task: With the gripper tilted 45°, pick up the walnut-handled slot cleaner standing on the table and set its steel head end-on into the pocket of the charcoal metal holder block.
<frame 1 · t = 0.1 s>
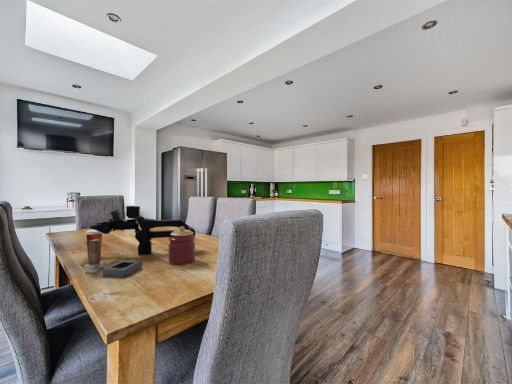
hand: (93, 225, 126), 17 cm above the table, tool horizontal, fingers open, 9 cm apart
holder block: (123, 271, 104), on the table
paper cup: (94, 257, 127), on the table
slot cleaner tool: (94, 270, 106), on the table
canister: (181, 261, 120), on the table
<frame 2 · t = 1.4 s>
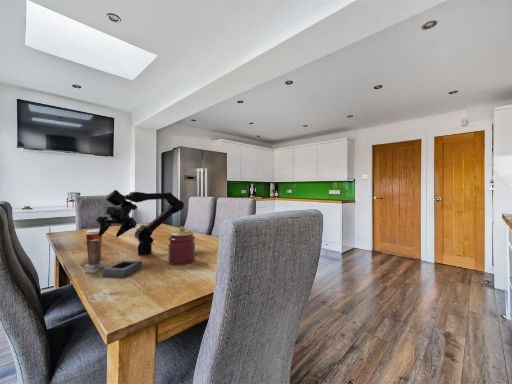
hand: (107, 236, 114), 14 cm above the table, tool tilted 45°, fingers open, 9 cm apart
nothing on the table moved.
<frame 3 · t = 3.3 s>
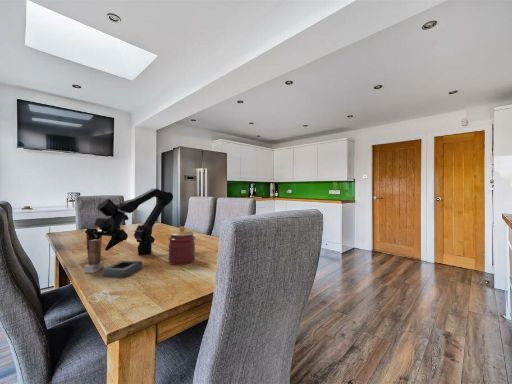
hand: (96, 249, 107), 9 cm above the table, tool tilted 45°, fingers open, 9 cm apart
nothing on the table moved.
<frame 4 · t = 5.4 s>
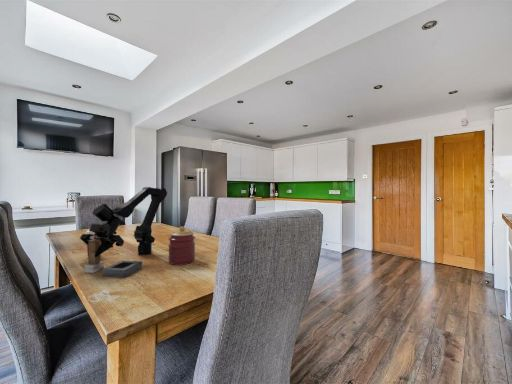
hand: (91, 256, 104), 7 cm above the table, tool tilted 45°, fingers closed on slot cleaner tool, 3 cm apart
slot cleaner tool: (94, 270, 106), on the table, touching gripper
everything else where it was.
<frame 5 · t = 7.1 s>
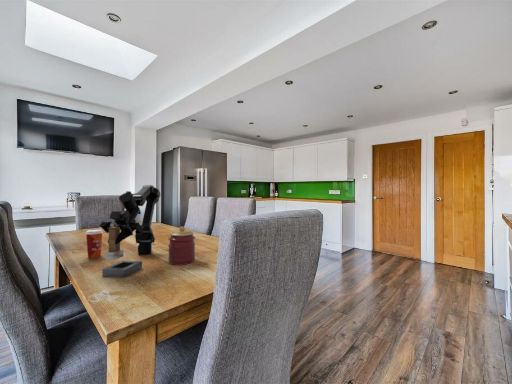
hand: (112, 243, 103), 13 cm above the table, tool tilted 45°, fingers closed on slot cleaner tool, 3 cm apart
slot cleaner tool: (114, 257, 104), point 6 cm above the table, touching gripper
everything else where it was.
when the fingers open (8 cm above the table, at t = 9.0 s): slot cleaner tool stays where it is, resting on holder block.
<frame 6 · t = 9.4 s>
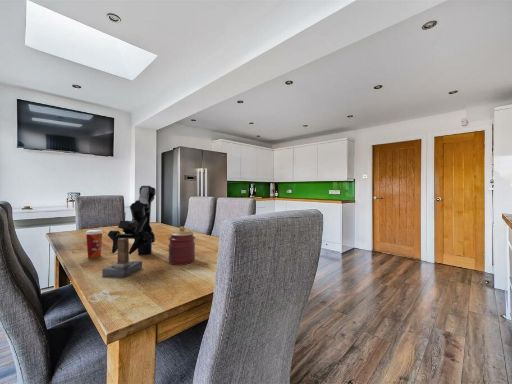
hand: (121, 253, 102), 9 cm above the table, tool tilted 45°, fingers open, 8 cm apart
slot cleaner tool: (123, 269, 104), point 1 cm above the table, touching holder block
everything else where it was.
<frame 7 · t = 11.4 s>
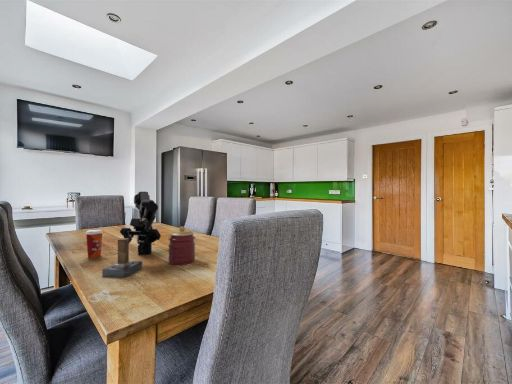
hand: (132, 248, 110), 8 cm above the table, tool tilted 45°, fingers open, 9 cm apart
nothing on the table moved.
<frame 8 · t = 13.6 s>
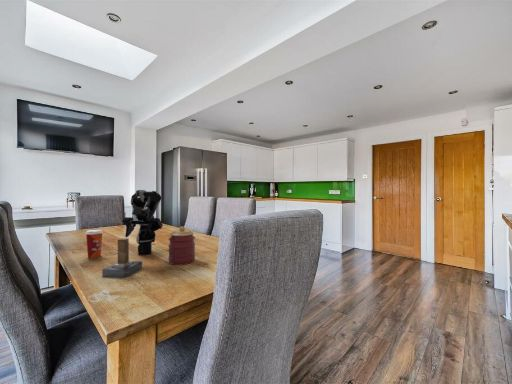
hand: (135, 237, 112), 14 cm above the table, tool tilted 45°, fingers open, 9 cm apart
nothing on the table moved.
at the end: slot cleaner tool 0.0 cm off-centre on the holder block, point 1.0 cm above the holder block's base; slot cleaner tool tilted 0°; the gripper is holding nothing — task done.
